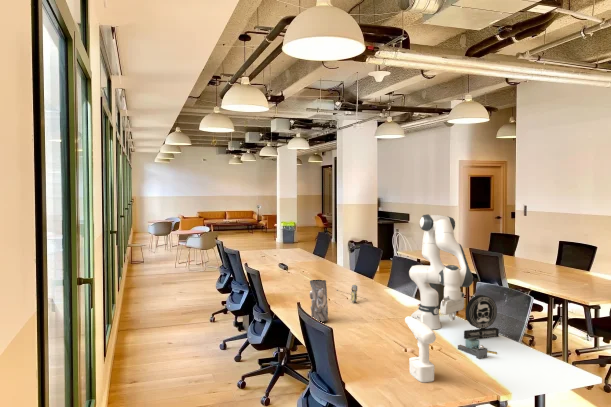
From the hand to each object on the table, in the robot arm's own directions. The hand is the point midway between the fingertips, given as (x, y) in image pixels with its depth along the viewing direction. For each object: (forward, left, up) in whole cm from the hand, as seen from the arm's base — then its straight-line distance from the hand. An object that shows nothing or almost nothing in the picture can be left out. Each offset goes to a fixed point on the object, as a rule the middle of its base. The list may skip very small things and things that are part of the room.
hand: (452, 319), depth 251 cm
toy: (-112, +10, -15) cm, 113 cm away
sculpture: (-79, -40, -15) cm, 89 cm away
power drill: (+20, -43, -15) cm, 50 cm away
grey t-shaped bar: (+13, 0, -15) cm, 20 cm away
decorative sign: (-2, +26, -15) cm, 30 cm away
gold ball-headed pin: (+18, +10, -15) cm, 25 cm away
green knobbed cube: (+8, +7, -15) cm, 18 cm away
